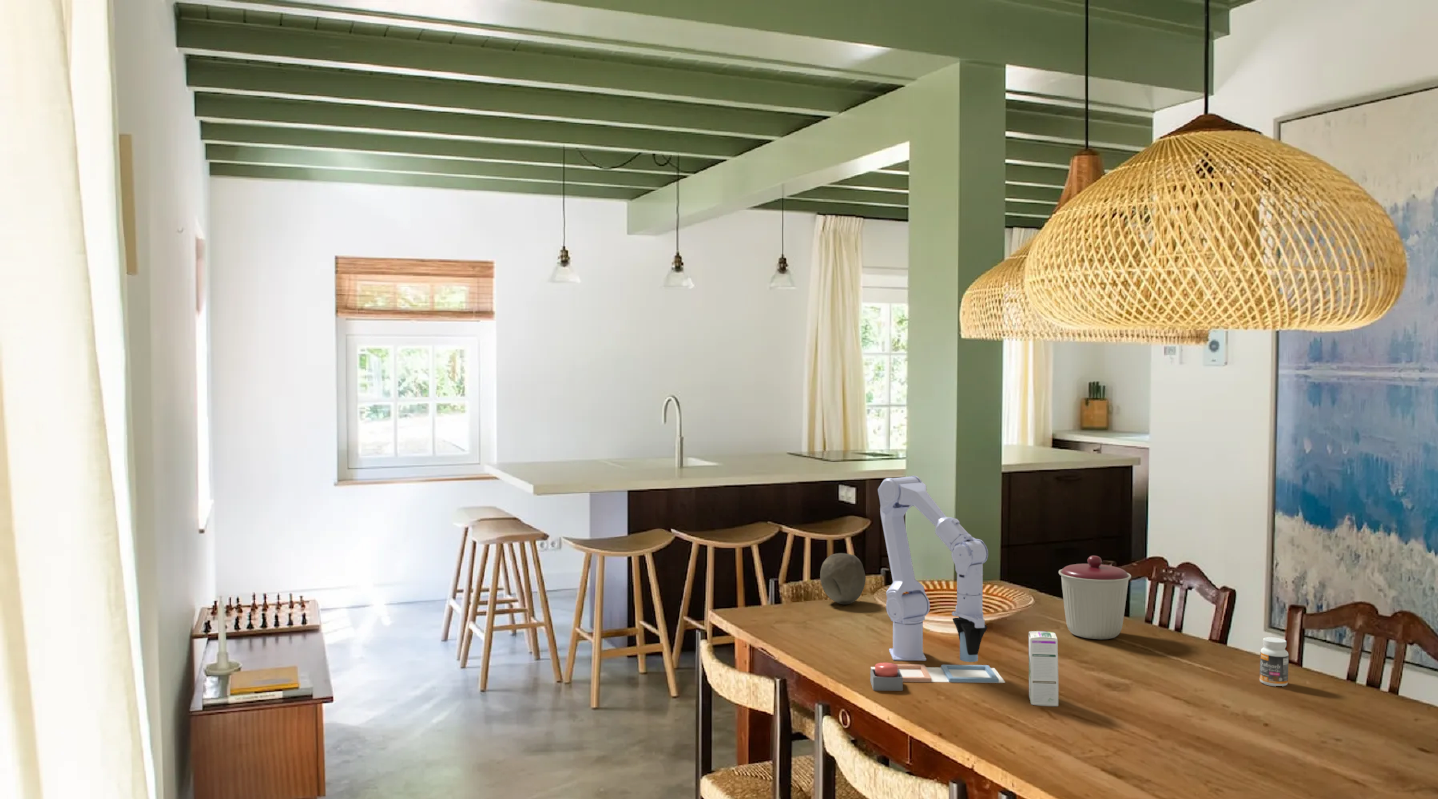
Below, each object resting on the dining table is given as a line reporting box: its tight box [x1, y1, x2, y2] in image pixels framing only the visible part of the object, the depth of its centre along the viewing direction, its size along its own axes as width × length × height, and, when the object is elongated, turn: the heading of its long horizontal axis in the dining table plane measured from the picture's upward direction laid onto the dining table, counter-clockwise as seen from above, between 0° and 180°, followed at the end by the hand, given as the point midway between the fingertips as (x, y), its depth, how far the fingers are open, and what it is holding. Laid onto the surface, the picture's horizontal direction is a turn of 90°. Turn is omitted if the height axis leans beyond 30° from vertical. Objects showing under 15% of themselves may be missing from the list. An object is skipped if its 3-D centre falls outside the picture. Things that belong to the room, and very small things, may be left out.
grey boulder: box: [819, 552, 867, 605], centre depth 321 cm, size 14×14×15 cm
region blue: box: [940, 664, 999, 683], centre depth 246 cm, size 11×11×1 cm
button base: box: [869, 668, 904, 692], centre depth 237 cm, size 6×6×3 cm
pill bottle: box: [1259, 636, 1290, 687], centre depth 239 cm, size 6×6×10 cm
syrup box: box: [1028, 630, 1059, 707], centre depth 226 cm, size 6×6×14 cm
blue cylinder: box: [959, 632, 979, 663], centre depth 245 cm, size 4×4×7 cm
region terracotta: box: [896, 663, 932, 683], centre depth 246 cm, size 11×11×1 cm
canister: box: [1058, 555, 1132, 640], centre depth 282 cm, size 18×18×21 cm
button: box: [874, 662, 898, 677], centre depth 237 cm, size 5×5×2 cm
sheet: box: [870, 666, 1006, 684], centre depth 246 cm, size 12×29×1 cm, turn 88°
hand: (969, 651), depth 245 cm, fingers closed on blue cylinder, 4 cm apart
